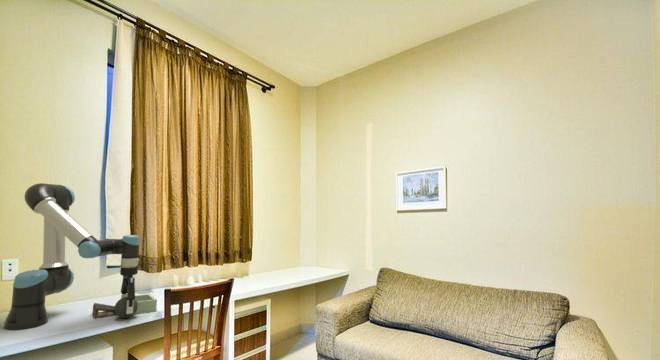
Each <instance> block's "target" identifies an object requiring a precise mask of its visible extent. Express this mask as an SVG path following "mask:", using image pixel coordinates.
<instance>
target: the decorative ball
mask: <svg viewBox="0 0 660 360" xmlns="http://www.w3.org/2000/svg"><path fill="white" fill-rule="evenodd" d="M127 298H128V297H124V298H120V299H119V300H118V301H116V303H115V305H114V306H115V308H114V311H115V314H116V315H117V317H118V318H121V319H128V318H130V317H132V316H134V314H135V312H136V311H137V308H138V303H137V301H136V300H135V299H134V304H133V313H131V314H126V310H127V300H126V299H127ZM135 315H136V314H135Z"/></svg>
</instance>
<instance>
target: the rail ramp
mask: <svg viewBox="0 0 660 360" xmlns="http://www.w3.org/2000/svg"><path fill="white" fill-rule="evenodd" d="M114 308H115V305H109V304H103V303H97V302H94V303H93V306H92V313H91V315H92V317H93V319H100V318H101V319H103V318H109V317H115V316H117V315H116V314H115V311H114ZM117 317H118V316H117Z"/></svg>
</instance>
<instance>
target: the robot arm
mask: <svg viewBox="0 0 660 360" xmlns="http://www.w3.org/2000/svg"><path fill="white" fill-rule="evenodd" d="M23 196H24V201H25V204H26V205H27V206H28V207H29V208H30V209H31V210H32V211H33V212H34V214H37V215H38V214H40V215H41V216H43V257H42V264H41V265H39V268H38V269H31V270H26V271H23V272H20V273H18V274H17V275H15V277H14V280H13V284H12V286H13V287H12V297H11V306H10V307H11V308H10V310H9V313H8V314H7V317H5V320H4V323H3V324H4V325H3V328H4V329H5V330H23V329H31V328H35V327H39V326H42V325H45V324H47V323H48V321H49V314H48V311H47V308H46V304H45V303H46V297H47V296H50V295H55V294H59V293H61V292H63V291H66V290H67V289H69V288H70V286H72V284H73V282H74V279H75V274H74V271H72V269H71V268H69V263H68V262H67V261H66V238H67V239H68V240H69V241H70V242H72V244H73V245H74V246H76V247H77V248H78V249H77V252H78V255H79V256H80V258H83V259H94V258H98V257H103V256H108V255H121V257H120V272H119V274H120V276H122V283H121V288H120V294H121V298H124V297H128V298H127V299H126V300H127V310H126V314H131V313H133V304H134V299H135V296H136V290H135V288H136V285H135V278H134V277H133V276H134V275H138V271H139V267H138V265H139V261H140V258H139V256H140V255H139V252H140V236H139V235H137V234H124V235H123V236H122V238H100V239H97V238H95V236H94V235H92V234H91V233H90V232H89V231H88V230H87V229H86V228H85V227H83V226H82V225H81V224H80V223H79V222H78V221H77V220H76V219H75V218H73V217H72V216H71V214H69V213H68V212H69V211H70V207H71V206H72V205H73V204H74V203H75V199H76V198H75V197H76V195H75V193H74V191H73V190H72V189H71V188H70V187H68V186H66V185H62V184H53V183H52V184H51V183H43V182H42V183H39V182H38V183H35V184H33V185H31V186H29V187H28V188H27V190H25V192H24V195H23ZM121 298H120V299H121Z"/></svg>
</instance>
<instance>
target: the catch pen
mask: <svg viewBox="0 0 660 360" xmlns="http://www.w3.org/2000/svg"><path fill="white" fill-rule="evenodd" d="M135 300H136V301H137V303H138V308H137V311H136V312H135V314H134V315H141V314H147V313H153V312H154V313H155V312H157V301H158V299H157V298H156V297H155V296H153V295H151V294H150V293H145V294H135ZM134 315H133V316H134Z"/></svg>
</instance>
